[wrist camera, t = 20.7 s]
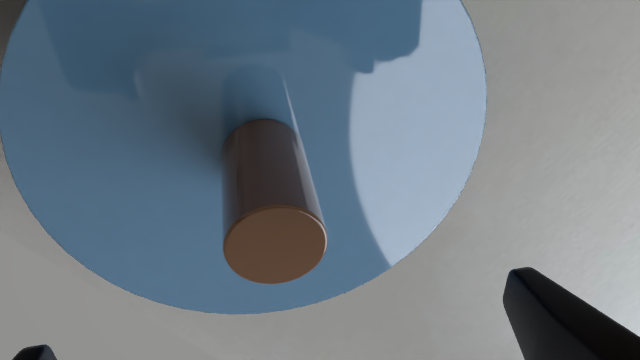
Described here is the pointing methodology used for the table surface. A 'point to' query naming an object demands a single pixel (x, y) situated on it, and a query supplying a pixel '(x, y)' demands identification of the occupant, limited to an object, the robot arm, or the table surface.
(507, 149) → the table surface
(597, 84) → the table surface
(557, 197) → the table surface
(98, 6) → the bowl lid
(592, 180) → the table surface
